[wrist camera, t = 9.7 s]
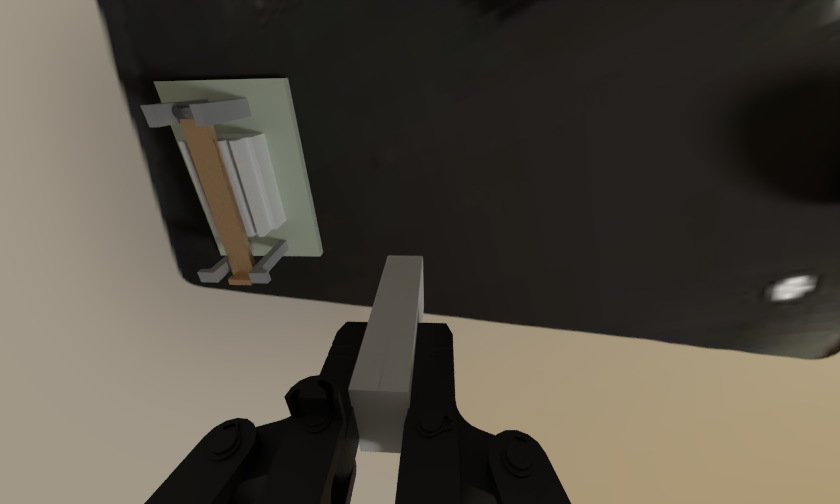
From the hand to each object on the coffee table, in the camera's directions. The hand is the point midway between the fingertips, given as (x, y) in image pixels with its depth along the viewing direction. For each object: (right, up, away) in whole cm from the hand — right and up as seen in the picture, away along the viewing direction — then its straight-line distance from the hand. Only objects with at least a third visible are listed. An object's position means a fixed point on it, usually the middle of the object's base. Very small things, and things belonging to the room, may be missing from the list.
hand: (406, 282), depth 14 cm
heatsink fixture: (-23, +12, +30) cm, 40 cm away
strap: (-23, +8, +25) cm, 35 cm away
